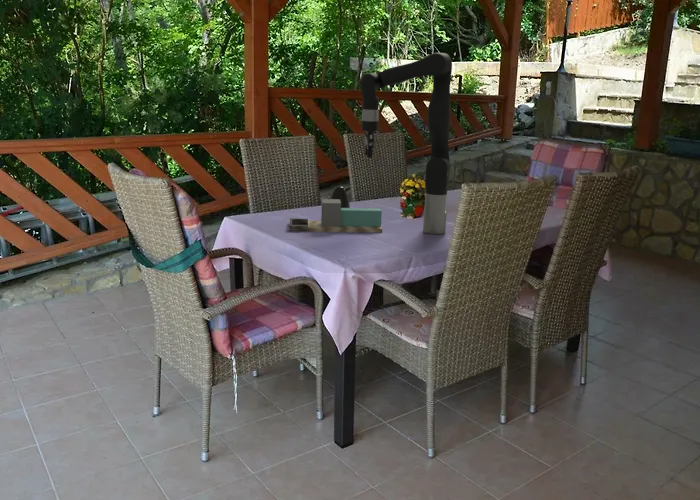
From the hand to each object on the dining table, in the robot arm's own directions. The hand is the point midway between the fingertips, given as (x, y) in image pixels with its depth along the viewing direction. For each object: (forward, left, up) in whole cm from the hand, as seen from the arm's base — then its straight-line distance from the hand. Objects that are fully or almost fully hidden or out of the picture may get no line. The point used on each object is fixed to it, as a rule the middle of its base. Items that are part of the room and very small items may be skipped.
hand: (368, 156), depth 284 cm
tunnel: (+17, +13, -29) cm, 36 cm away
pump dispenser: (+12, -7, -30) cm, 33 cm away
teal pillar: (+4, +13, -29) cm, 32 cm away
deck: (+15, +13, -30) cm, 36 cm away
